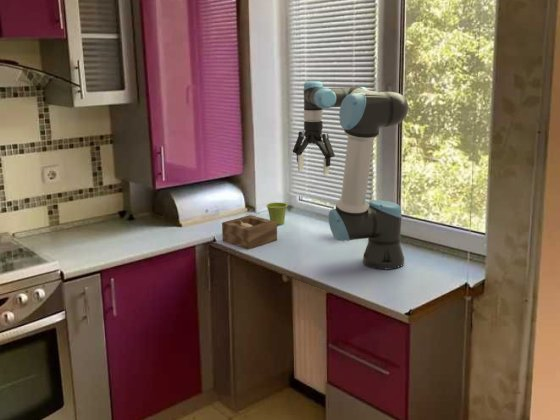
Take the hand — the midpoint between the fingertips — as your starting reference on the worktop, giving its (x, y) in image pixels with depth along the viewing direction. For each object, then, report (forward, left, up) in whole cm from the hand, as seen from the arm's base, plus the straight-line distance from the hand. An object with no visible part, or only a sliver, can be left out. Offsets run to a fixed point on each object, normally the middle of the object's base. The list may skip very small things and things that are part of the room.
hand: (313, 172), depth 266 cm
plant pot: (+25, -4, -28) cm, 37 cm away
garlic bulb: (+16, +23, -27) cm, 39 cm away
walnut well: (+15, +22, -28) cm, 39 cm away
